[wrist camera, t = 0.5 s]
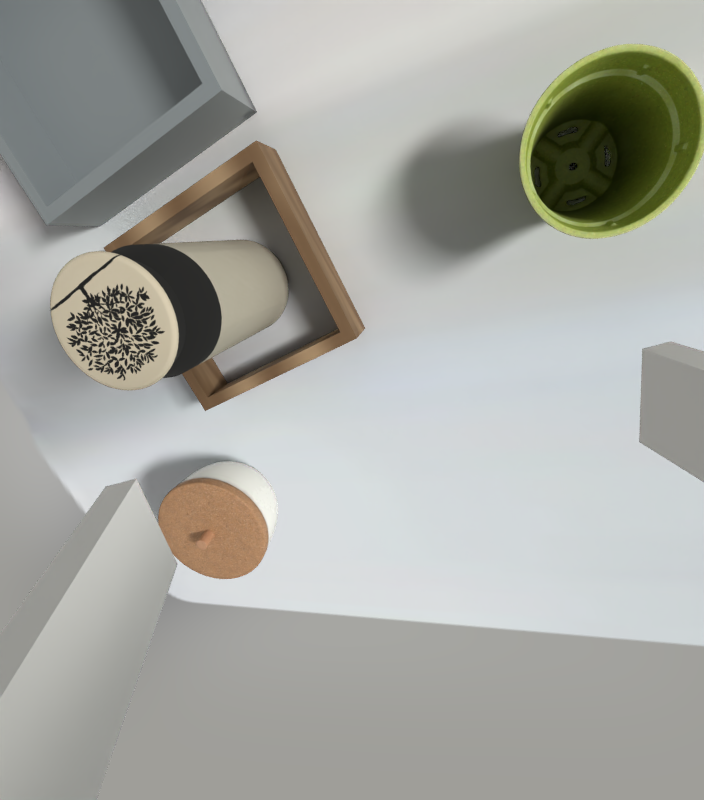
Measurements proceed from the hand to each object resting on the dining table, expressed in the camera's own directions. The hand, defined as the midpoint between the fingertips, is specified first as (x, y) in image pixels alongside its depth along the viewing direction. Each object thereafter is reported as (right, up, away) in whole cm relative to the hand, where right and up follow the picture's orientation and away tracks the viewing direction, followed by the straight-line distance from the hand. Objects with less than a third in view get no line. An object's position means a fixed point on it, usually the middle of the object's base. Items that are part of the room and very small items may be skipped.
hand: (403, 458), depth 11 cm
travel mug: (-11, +12, +29) cm, 33 cm away
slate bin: (-21, +29, +24) cm, 43 cm away
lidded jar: (-13, -8, +37) cm, 40 cm away
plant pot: (+15, +19, +21) cm, 32 cm away
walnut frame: (-11, +12, +29) cm, 33 cm away
